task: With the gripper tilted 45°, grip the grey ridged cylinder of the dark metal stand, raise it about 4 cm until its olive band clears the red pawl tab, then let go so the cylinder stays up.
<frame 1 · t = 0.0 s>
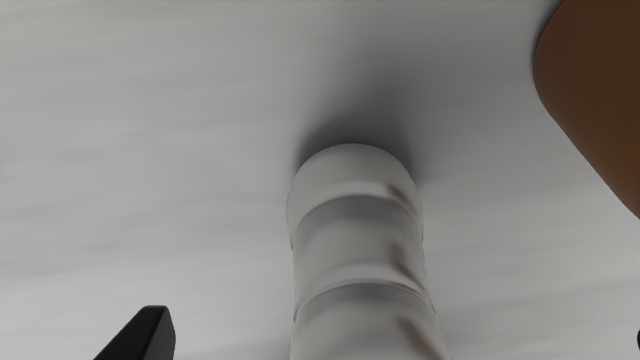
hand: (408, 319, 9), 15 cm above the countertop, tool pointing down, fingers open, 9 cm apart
plastic bottle: (351, 179, 25), on the countertop
mug: (620, 85, 22), on the countertop
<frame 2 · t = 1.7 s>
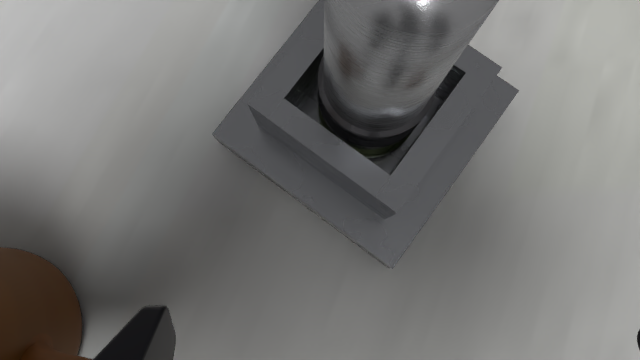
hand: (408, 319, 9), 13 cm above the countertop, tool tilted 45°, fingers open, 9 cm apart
stand sleeve: (363, 121, 23), on the countertop
grey ridged cylinder: (384, 58, 16), point 8 cm above the countertop, slide at 0.0 cm
mug: (55, 338, 22), on the countertop
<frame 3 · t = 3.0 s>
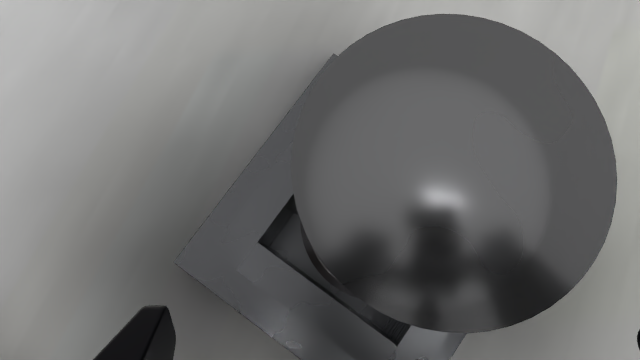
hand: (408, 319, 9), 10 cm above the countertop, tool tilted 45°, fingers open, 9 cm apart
stand sleeve: (361, 234, 19), on the countertop
grey ridged cylinder: (387, 214, 12), point 8 cm above the countertop, slide at 0.0 cm
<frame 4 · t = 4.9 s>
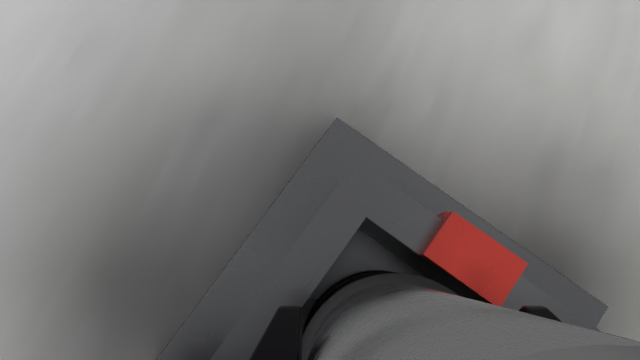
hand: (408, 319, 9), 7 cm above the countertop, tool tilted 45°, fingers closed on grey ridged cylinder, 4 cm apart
stand sleeve: (370, 337, 16), on the countertop
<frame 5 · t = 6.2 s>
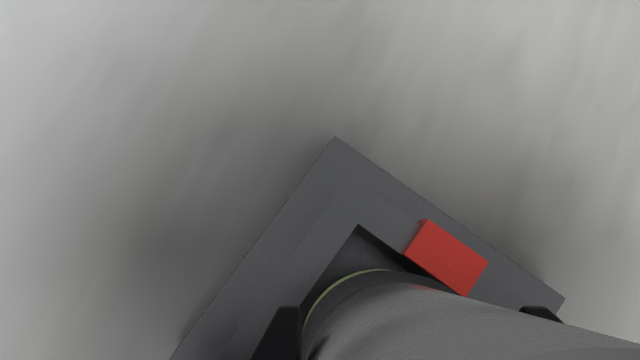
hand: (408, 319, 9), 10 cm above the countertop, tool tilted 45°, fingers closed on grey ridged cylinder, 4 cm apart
stand sleeve: (363, 325, 18), on the countertop
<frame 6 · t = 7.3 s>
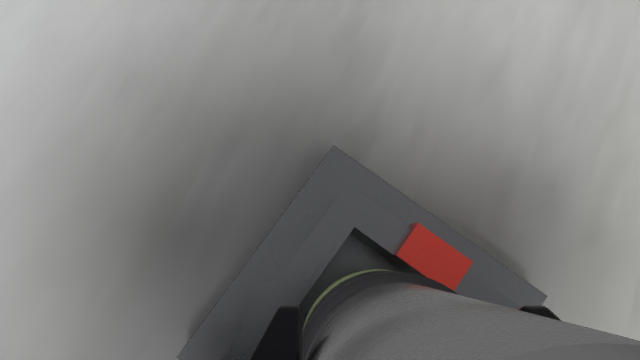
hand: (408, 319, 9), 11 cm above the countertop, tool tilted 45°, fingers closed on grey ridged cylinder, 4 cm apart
stand sleeve: (360, 321, 20), on the countertop
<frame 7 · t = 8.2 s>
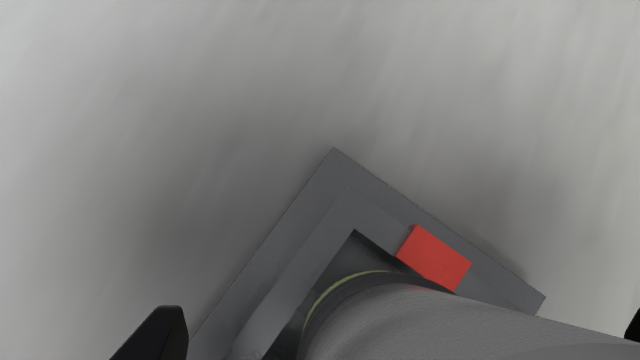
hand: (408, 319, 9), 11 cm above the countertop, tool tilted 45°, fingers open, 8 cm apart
stand sleeve: (360, 322, 20), on the countertop
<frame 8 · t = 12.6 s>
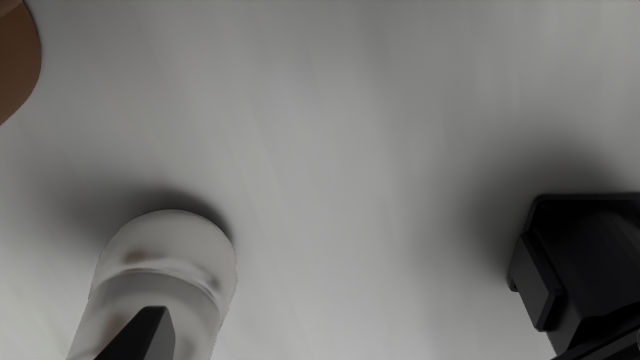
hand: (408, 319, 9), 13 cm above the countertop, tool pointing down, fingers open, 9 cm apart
plastic bottle: (182, 238, 26), on the countertop
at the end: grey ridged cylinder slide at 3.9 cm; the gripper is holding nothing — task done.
